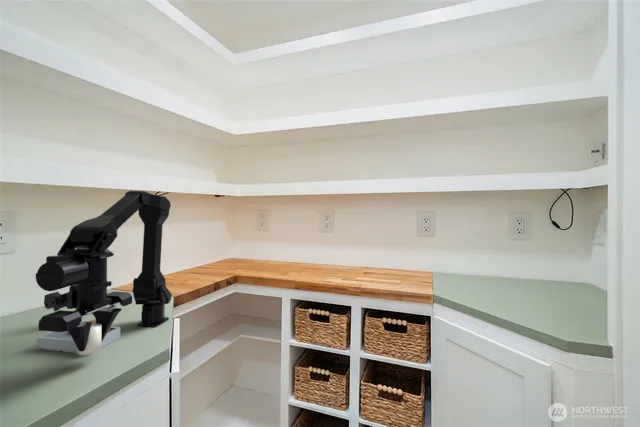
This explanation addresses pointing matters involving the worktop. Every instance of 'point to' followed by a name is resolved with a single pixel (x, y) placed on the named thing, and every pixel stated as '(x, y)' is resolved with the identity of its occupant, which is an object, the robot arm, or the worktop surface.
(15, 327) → the worktop surface
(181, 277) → the worktop surface
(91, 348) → the cream cylinder
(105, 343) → the grey blue tray
